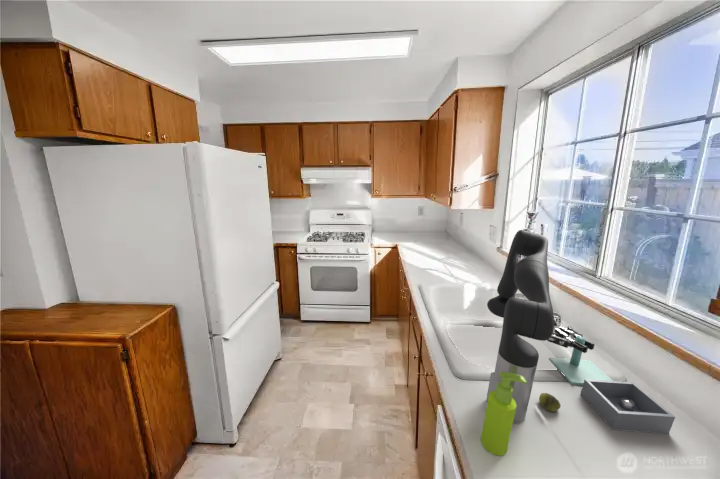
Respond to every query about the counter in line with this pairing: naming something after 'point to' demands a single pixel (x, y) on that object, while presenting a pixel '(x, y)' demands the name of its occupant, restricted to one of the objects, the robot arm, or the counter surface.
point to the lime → (549, 402)
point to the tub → (607, 401)
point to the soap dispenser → (500, 415)
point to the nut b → (627, 404)
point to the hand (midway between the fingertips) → (590, 348)
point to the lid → (578, 367)
